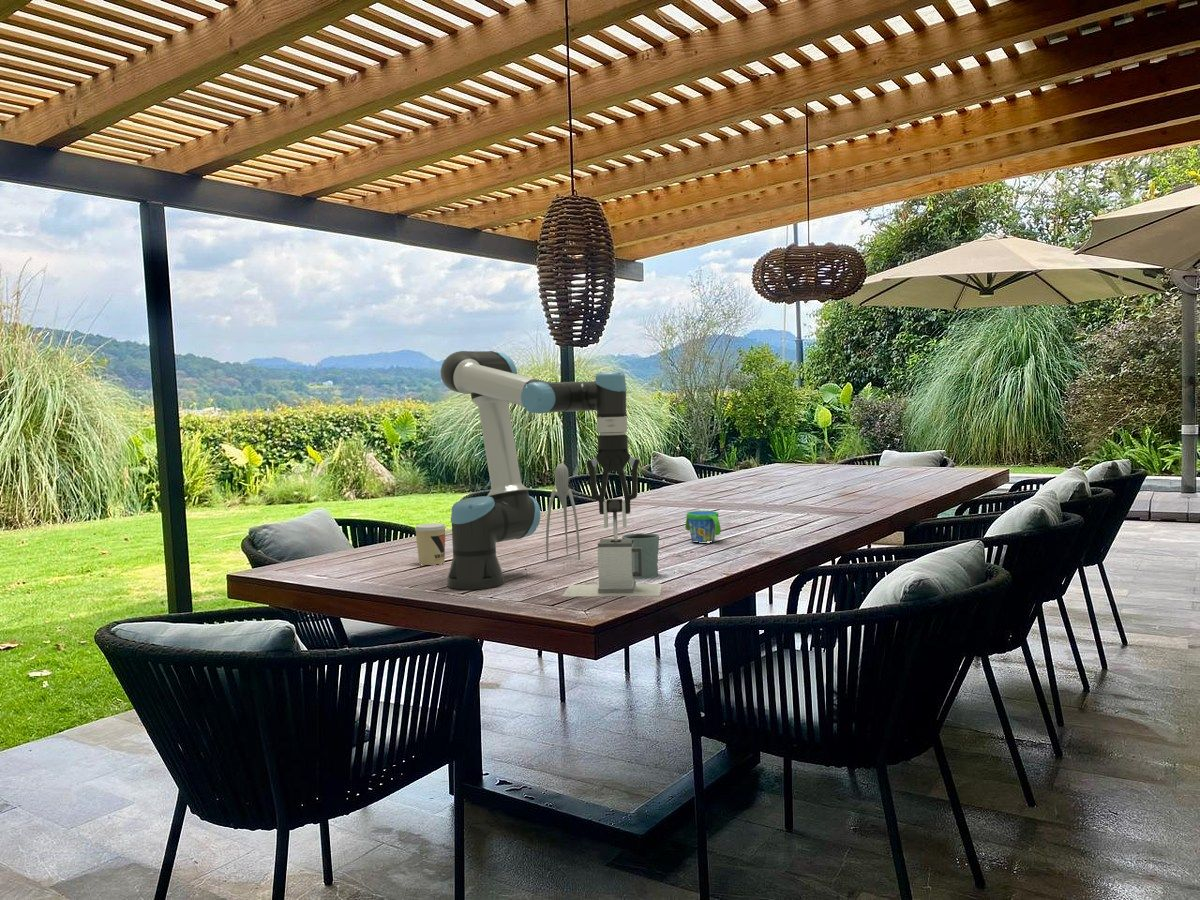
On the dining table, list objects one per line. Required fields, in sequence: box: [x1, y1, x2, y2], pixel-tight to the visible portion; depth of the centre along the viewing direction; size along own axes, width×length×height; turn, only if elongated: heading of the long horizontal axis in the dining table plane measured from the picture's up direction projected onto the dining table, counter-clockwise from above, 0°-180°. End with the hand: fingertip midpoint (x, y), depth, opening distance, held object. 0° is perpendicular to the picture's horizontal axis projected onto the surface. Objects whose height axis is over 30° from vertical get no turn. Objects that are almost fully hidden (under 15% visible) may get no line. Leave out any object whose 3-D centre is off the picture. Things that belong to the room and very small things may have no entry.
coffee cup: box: [414, 522, 447, 566], centre depth 284 cm, size 9×9×12 cm
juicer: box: [545, 462, 581, 562], centre depth 285 cm, size 10×9×30 cm
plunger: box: [606, 498, 623, 542], centre depth 231 cm, size 6×6×18 cm
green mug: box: [621, 533, 660, 579], centre depth 249 cm, size 10×10×12 cm
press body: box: [597, 538, 642, 593], centre depth 231 cm, size 11×9×12 cm
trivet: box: [562, 583, 663, 598], centre depth 231 cm, size 24×14×1 cm, turn 84°
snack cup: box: [685, 510, 722, 542], centre depth 308 cm, size 16×10×10 cm
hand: (615, 526), depth 230 cm, fingers closed on plunger, 4 cm apart
